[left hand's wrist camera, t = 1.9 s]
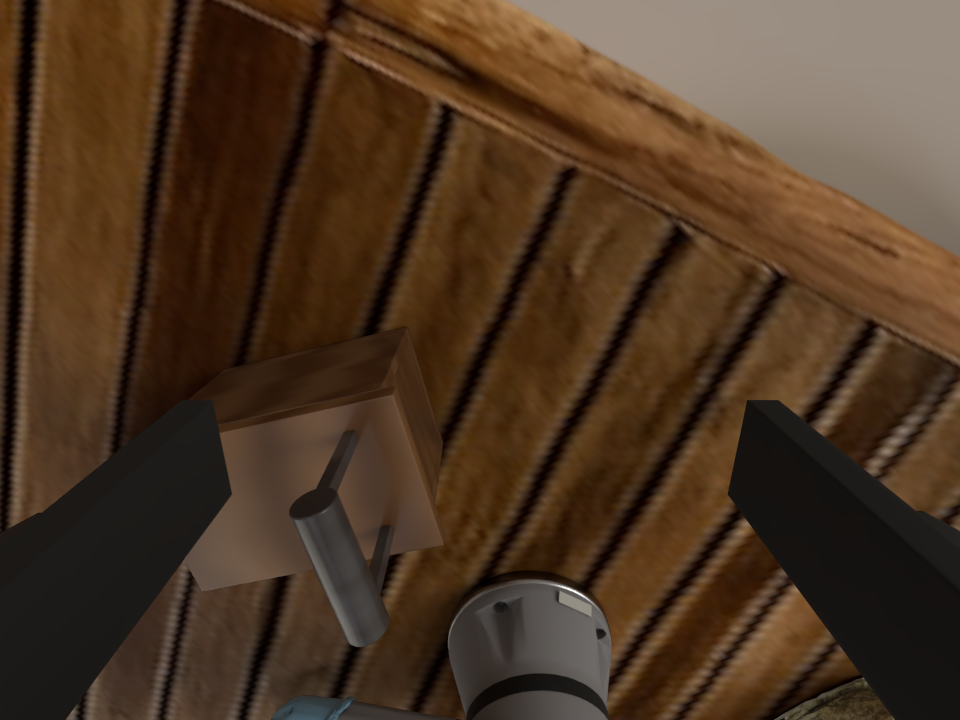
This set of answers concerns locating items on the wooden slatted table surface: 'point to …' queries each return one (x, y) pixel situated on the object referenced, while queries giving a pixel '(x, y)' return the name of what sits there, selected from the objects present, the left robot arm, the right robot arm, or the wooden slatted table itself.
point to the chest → (333, 386)
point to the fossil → (842, 705)
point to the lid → (322, 504)
